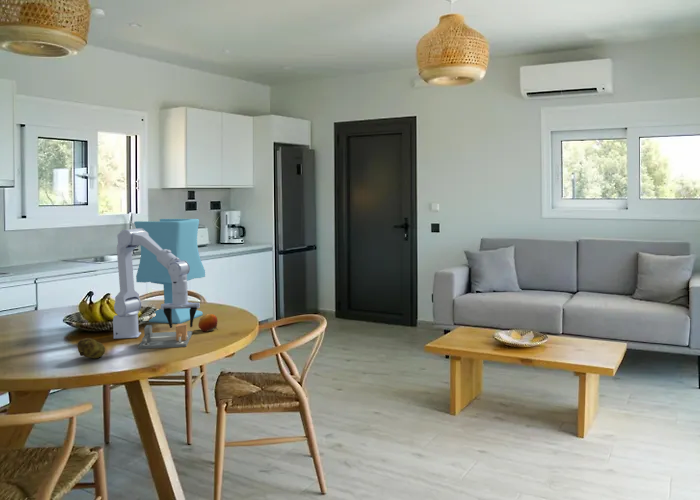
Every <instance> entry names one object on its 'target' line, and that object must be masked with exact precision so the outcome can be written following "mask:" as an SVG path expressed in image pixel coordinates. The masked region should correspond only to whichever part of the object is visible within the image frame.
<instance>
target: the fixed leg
mask: <svg viewBox="0 0 700 500" xmlns="http://www.w3.org/2000/svg"><path fill="white" fill-rule="evenodd" d="M143 330H144V333H143V334H144V335H143V337H144V338H145V344H147V342H151V337H152V333H153V325H152V324H146V325H145V327H144V328H143Z"/></svg>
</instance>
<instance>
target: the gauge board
mask: <svg viewBox="0 0 700 500" xmlns="http://www.w3.org/2000/svg"><path fill="white" fill-rule="evenodd" d="M192 335H193V330H187V335H186V340H182V341H181V342H179V341H176V331H165V332H152V337H151V342H147V344H145V338H144V336H143V337H142V341H141V342H140V344H138V347H137V348H138V350H143V349H144V350H145V349H165V348H167V349H169V348H185V347H187V346H188V344H189V342H190V340H191V337H192Z"/></svg>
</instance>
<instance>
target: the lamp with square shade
mask: <svg viewBox="0 0 700 500" xmlns="http://www.w3.org/2000/svg"><path fill="white" fill-rule="evenodd" d="M133 223H134V226H135V229H137V228H142V229H144V230H145V231H146V232H148V234H149V237H150V238H151V239H152V240H154V241H155V242H156V243H157V244H158V245H159V246H160V247H161V248H162V249H163V250H164V249H167V250H170V251H171V253H172V254H173V255H175V256H176V257H177V258H179V260H185V261H186V262H187V263H188V264H189V266H190V271H189V273H188V274H187V282H189V281H190V280H194V279H203V278H205V277H206V269H205V267H204V264H203V262H202V260H201V257H200V253H199V247H198V246H199V245H198V232H199V225H200V219H198V218H160V219H159V220H158V221H157V220H156V221H154V220H153V221H152V220H151V221H150V220H149V221H143V220H142V221H141V220H140V221H139V220H138V221H137V220H136V221H134V222H133ZM139 247H140V259H139V265H138V269H137V272H136V276H135V277H136V278H135V279H136V283H151V284H157V285H158V284H159V285H163V301H164V302H163V304H167V303H173V299H172V281H171V277H170V275H169V273H168V269H167V268H166V267H164V266H163V265H162V264H161V263H160V262H158V261H157V256H156V255H155V254H153V253H152V252H150V251H149V250H148V249H146V248H145V247H144V246H142V245H139ZM190 309H191V308H185V309H172V324H175V325H177V324H185V323H187V322H190ZM154 312H155V313H156V316H155V317H153V318H152V319H150V320H149V322H148V323H156V324H157V323H158V324H159V323H160V324H169V322H168V320H167V317H166V316H165V314H164V310H161V308H159V309H157V310H155V311H154ZM203 314H204V313H203V311H201V310H198V309H197V310H196V313H195V316H194V319H197V318H199V317H203V316H204V315H203Z"/></svg>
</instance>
